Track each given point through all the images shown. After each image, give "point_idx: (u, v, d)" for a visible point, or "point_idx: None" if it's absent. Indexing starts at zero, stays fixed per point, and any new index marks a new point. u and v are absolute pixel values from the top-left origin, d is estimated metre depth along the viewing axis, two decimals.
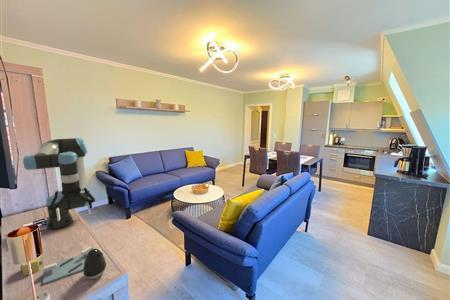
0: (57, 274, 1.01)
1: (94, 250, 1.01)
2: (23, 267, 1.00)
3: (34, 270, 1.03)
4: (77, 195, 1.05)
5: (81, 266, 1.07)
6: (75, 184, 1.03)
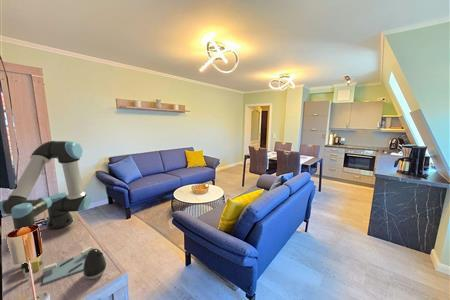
0: (57, 274, 1.01)
1: (94, 250, 1.01)
2: None
3: (34, 270, 1.03)
4: None
5: (81, 266, 1.07)
6: None
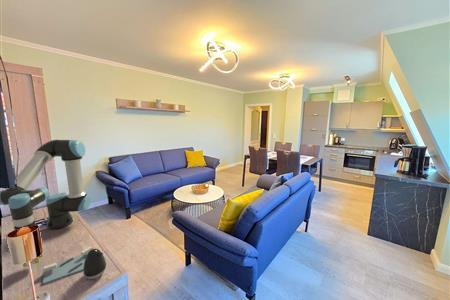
0: (57, 274, 1.01)
1: (94, 250, 1.01)
2: None
3: None
4: None
5: (81, 266, 1.07)
6: (15, 229, 0.96)
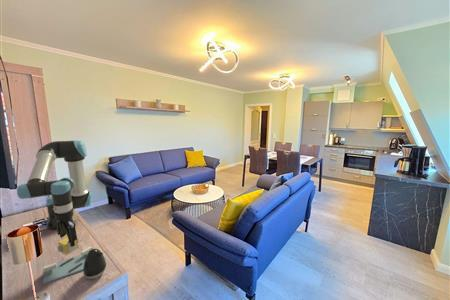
0: (57, 274, 1.01)
1: (94, 250, 1.01)
2: (65, 246, 1.01)
3: None
4: (63, 227, 1.00)
5: (81, 266, 1.07)
6: (60, 216, 0.97)
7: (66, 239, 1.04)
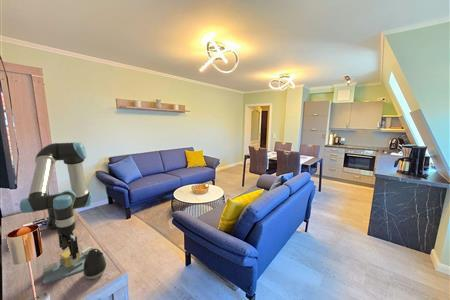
0: (57, 274, 1.01)
1: (94, 250, 1.01)
2: (67, 259, 1.02)
3: None
4: (65, 241, 1.02)
5: (81, 266, 1.07)
6: (62, 230, 0.99)
7: (68, 252, 1.06)
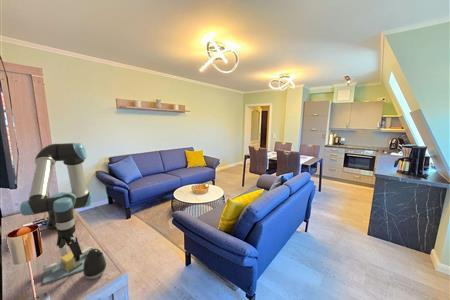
0: (57, 274, 1.01)
1: (94, 250, 1.01)
2: (67, 263, 1.03)
3: None
4: (66, 243, 1.02)
5: (81, 266, 1.07)
6: (62, 233, 0.99)
7: (68, 255, 1.07)
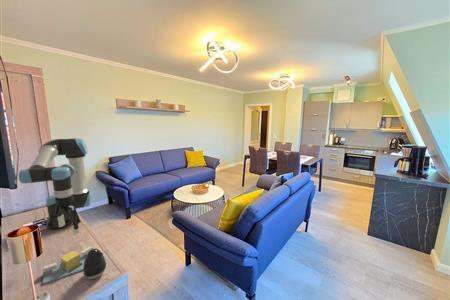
0: (57, 274, 1.01)
1: (94, 250, 1.01)
2: (67, 263, 1.03)
3: (76, 264, 1.07)
4: (65, 211, 1.03)
5: (81, 266, 1.07)
6: (60, 201, 1.01)
7: (68, 255, 1.07)
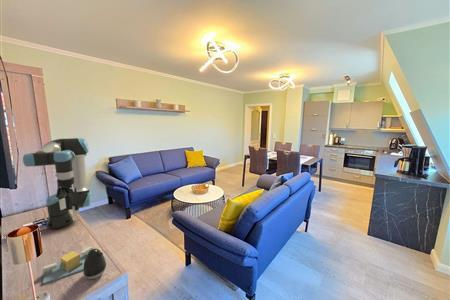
0: (57, 274, 1.01)
1: (94, 250, 1.01)
2: (67, 263, 1.03)
3: (76, 264, 1.07)
4: (66, 193, 1.09)
5: (81, 266, 1.07)
6: (62, 182, 1.06)
7: (68, 255, 1.07)
